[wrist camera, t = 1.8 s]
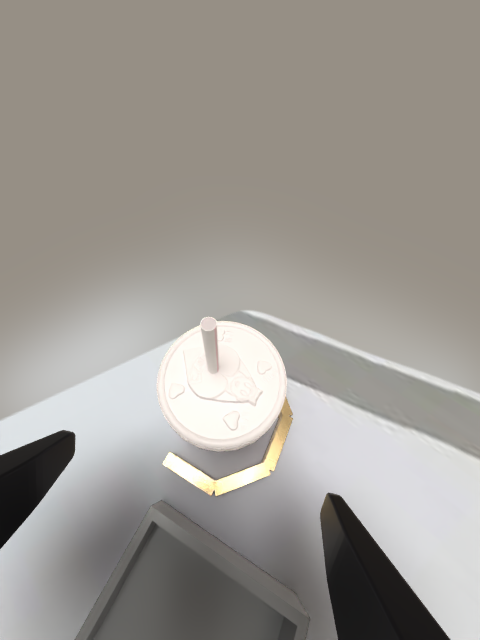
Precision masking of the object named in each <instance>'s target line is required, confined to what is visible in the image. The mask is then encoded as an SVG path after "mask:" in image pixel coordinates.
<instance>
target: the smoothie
mask: <svg viewBox="0 0 480 640" xmlns="http://www.w3.org/2000/svg"><path fill="white" fill-rule="evenodd" d="M286 388H287V379H286V372H285V367H284V364H283V361H282V359H281V357H280V355H279V353H278V351H277V350H276V348H275V347H274V345H273V344H272V343H271V342H270V341H269V340H268V339H267V338H266V337H265V336H264V335H263V334H261V333H260V332H258V331H257V330H255V329H253V328H251V327H249V326H247V325H244V324H241V323H236V322H230V321H216V320H215V319H214V318H212V317H205V318H203V319H202V320H201V323H200V326H197V327H195V328H193V329H191V330H189V331H188V332H186V333H185V334H183V335H182V336H181V337H179V338H178V339H177V340H176V341H175V342H174V343H173V344H172V346H171V347H170V348H169V350H168V351H167V353H166V354H165V356H164V358H163V360H162V363H161V365H160V368H159V372H158V377H157V396H158V401H159V404H160V407H161V410H162V412H163V414H164V416H165V418H166V420H167V421H168V423H169V424H170V426H171V427H172V428H173V430H174V431H175V432H176V433H177V434H178V435H179V436H180V437H181V438H182V439H183V440H185V441H187V442H189V443H191V444H193V445H194V446H196V447H198V448H200V449H205V450H211V451H216V452H222V451H231V450H238V449H240V448H242V447H245V446H247V445H249V444H252V443H254V442H255V441H257V440H258V439H259V438H260V437H261V436H263V435H264V434H265V433H266V432H267V431H268V430H269V429H270V427H271V426H272V425H273V423H274V422H275V420H276V419H277V417H278V415H279V413H280V411H281V409H282V406H283V403H284V400H285V396H286Z"/></svg>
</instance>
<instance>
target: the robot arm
mask: <svg viewBox="0 0 480 640" xmlns="http://www.w3.org/2000/svg"><path fill="white" fill-rule="evenodd" d="M74 453H75V434H74V433H73V432H70V431H66V430H62V431H59V432H56V433H54V434H51V435H49V436H47V437H44V438H42V439H39V440H37V441H34V442H32V443H29V444H27V445H25V446H22V447H20V448H17V449H15V450H12V451H10V452H7V453H5V454H3V455H0V549H1V548H2V547H3V545H4V544H5V543H6V542H7V541H8V540H9V538H10V537H11V536H12V535H13V534H14V533H15V531H16V530H17V529H18V528H19V527H20V526H21V524H22V523H23V522H24V521H25V520H26V518H27V517H28V516H29V515H30V514H31V513H32V511H33V510H34V509H35V508H36V507H37V505H38V504H39V503H40V501H41V500H42V499H43V498H44V496H45V495H46V493H47V492H48V491H49V489H50V488H51V487H52V485H53V484H54V483H55V481H56V480H57V478H58V477H59V476H60V474H61V473H62V472H63V470H64V469H65V468H66V466H67V465H68V463H69V462H70V461H71V459H72V458H73V456H74ZM320 521H321V530H322V539H323V548H324V557H325V567H326V575H327V582H328V588H329V594H330V599H331V604H332V609H333V615H334V620H335V625H336V630H337V635H338V640H450V638H449V637H448V636H447V635H446V633H445V632H444V631H443V629H442V628H441V627H440V625H439V624H438V623H437V621H436V620H435V619H434V618H433V616H432V615H431V614H430V612H429V611H428V610H427V608H426V607H425V606H424V604H423V603H422V602H421V600H420V599H419V598H418V597H417V595H416V594H415V593H414V591H413V590H412V589H411V587H410V586H409V585H408V583H407V582H406V581H405V579H404V578H403V577H402V576H401V574H400V573H399V572H398V570H397V569H396V568H395V566H394V565H393V564H392V562H391V561H390V560H389V558H388V557H387V556H386V555H385V553H384V552H383V551H382V549H381V548H380V547H379V545H378V544H377V543H376V541H375V540H374V539H373V538H372V536H371V535H370V534H369V532H368V531H367V530H366V528H365V527H364V526H363V524H362V523H361V522H360V520H359V519H358V518H357V517H356V515H355V514H354V513H353V511H352V510H351V509H350V507H349V506H348V505H347V503H346V502H345V501H344V499H343V498H342V497H341V496H340V495H337V494H333V493H327V495H326V497H325V500H324V503H323V506H322V509H321V513H320Z"/></svg>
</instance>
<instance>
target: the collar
mask: <svg viewBox="0 0 480 640" xmlns="http://www.w3.org/2000/svg"><path fill="white" fill-rule="evenodd" d="M291 415H293V414H292V411H291V409H290V406H289V404H288V401H287V399H286V396H285V400H284V403H283V406H282V409H281V411H280V413H279V415H278V418H279V420H278V422H277V425H276V427H275V430H274V432H273V435H272V437H271V440H270V442H269V445H268V447H267V450H266V452H265V455H264V457H263V460H262V462H261V463H260V464H257V465H254V466H252V467H249V468H246V469H244V470H241V471H239V472H236V473H233V474H231V475H228V476H226V477H223V478H220V479H218V480H215V479H213V478H212V477H210V476H208V475H207V474H205V473H204V472H202V471H201V470H199V469H197V468H196V467H194V466H193V465H191V464H190V463H188V462H186V461H185V460H183V459H182V458H180V457H179V456H177V455H176V454H174V453H171V452H169V454H168V456H167V457H166V459H165V461H164V462H163V465H165V466H166V467H168V468H169V469H171V470H172V471H174V472H175V473H177V474H178V475H180V476H181V477H183V478H184V479H186V480H187V481H189V482H191V483H192V484H194V485H195V486H197V487H198V488H200V489H201V490H203V491H204V492H206V493H207V494H209V495H210V496H211V495H212V493H213V491H215V495H216V496H218V495H221V494H223V493H226V492H228V491H231V490H233V489H236V488H238V487H241V486H243V485H246V484H248V483H251V482H253V481H256V480H258V479H261V478H263V477H266V476H268V475H270V471H274V469H275V466H276V464H277V461H278V458H279V455H280V453H281V450H282V447H283V444H284V442H285V439H286V436H287V433H288V431H289V428H290V425H291V422H292V420H293V418H291V417H290V416H291Z"/></svg>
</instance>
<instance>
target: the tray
mask: <svg viewBox="0 0 480 640" xmlns="http://www.w3.org/2000/svg"><path fill="white" fill-rule="evenodd" d="M309 621H310V618H309V616H308V614H307V613H306V611H305V609H304V607H303V606H302V604H301V602H300V600H299V598H298V597H297V595H296V593H295V592H293V591H292V590H290V589H289V588H287V587H286V586H285V585H283V584H282V583H280V582H279V581H277V580H276V579H274V578H273V577H272V576H270V575H269V574H267V573H266V572H264V571H263V570H262V569H260V568H259V567H257V566H256V565H254V564H253V563H251V562H250V561H249V560H247V559H246V558H244V557H243V556H241V555H240V554H239V553H237V552H236V551H234V550H233V549H231V548H230V547H228V546H227V545H226V544H224V543H223V542H221V541H220V540H218V539H217V538H216V537H214V536H213V535H211V534H210V533H208V532H207V531H205V530H204V529H203V528H201V527H200V526H198V525H197V524H195V523H194V522H193V521H191V520H190V519H188V518H187V517H185V516H184V515H182V514H181V513H180V512H178V511H177V510H175V509H174V508H172V507H171V506H169V505H168V504H167V503H165V502H164V501H162V500H161V501H159V502H157V503H155V504H153V505H152V506H151V507H150V508H149V510H148V512H147V514H146V515H145V517H144V519H143V521H142V522H141V524H140V526H139V528H138V529H137V531H136V533H135V535H134V536H133V538H132V540H131V542H130V543H129V545H128V547H127V549H126V550H125V552H124V554H123V556H122V557H121V559H120V561H119V563H118V564H117V566H116V568H115V570H114V571H113V573H112V575H111V577H110V578H109V580H108V582H107V584H106V585H105V587H104V589H103V591H102V592H101V594H100V596H99V598H98V600H97V601H96V603H95V605H94V607H93V608H92V610H91V612H90V614H89V615H88V617H87V619H86V621H85V622H84V624H83V626H82V628H81V629H80V631H79V633H78V635H77V636H76V638H75V640H305V639H306V634H307V630H308V626H309Z"/></svg>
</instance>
